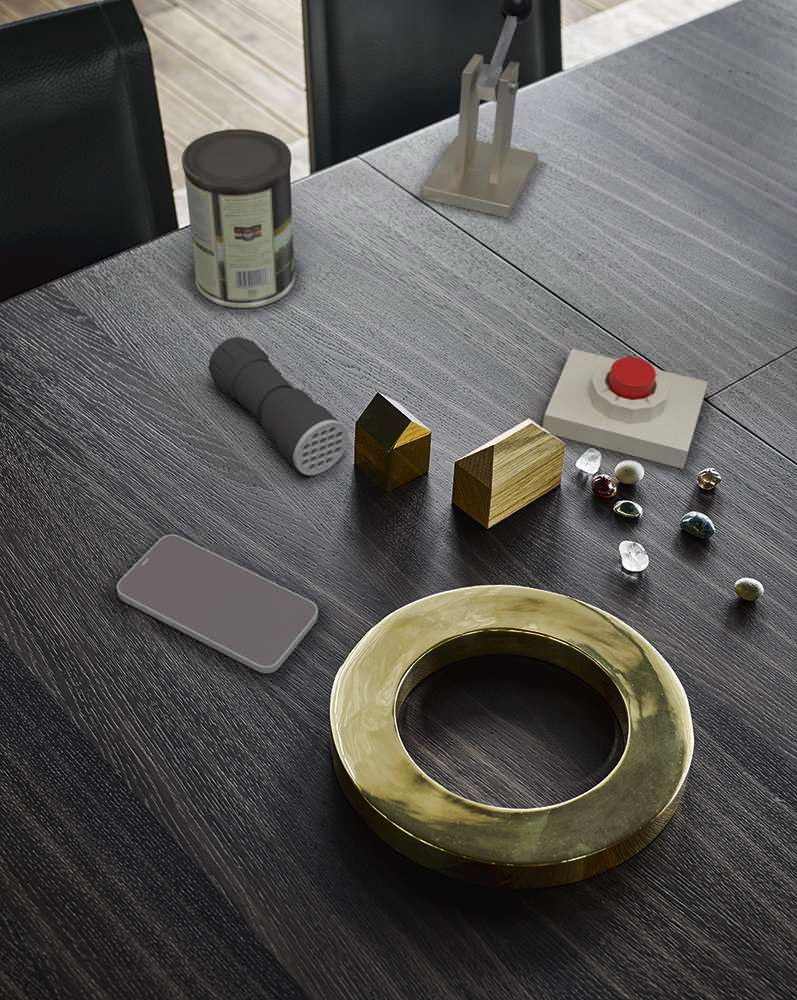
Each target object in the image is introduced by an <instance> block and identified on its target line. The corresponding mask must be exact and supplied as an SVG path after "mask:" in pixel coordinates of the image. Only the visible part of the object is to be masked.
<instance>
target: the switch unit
mask: <svg viewBox="0 0 797 1000" xmlns="http://www.w3.org/2000/svg"><path fill="white" fill-rule="evenodd" d="M484 57H485V56H484V55H481V54H477V53H475V54H474V55H472V57H471V59H470V60H469V62H468V64H467V65H466V67H464V69H463V70H462V72H461V73H462V74H461V78H460V79H461V80H460V81H461V82H460V83H461V89H460V100H459V101H460V103H459V114H458V115H459V116H458V129H457V135H455V137H454V139H452V142H451V143H450V145H449V146H448V148H447V149H446V150H445V152H444V154H443V156H442V157H441V158H440V160H439V162H438V163H437V165H436V167H435V168H434V170H433V171H432V173H431V174H430V176H429V177H428V179H427V180H426V182H425V183H424V185H423V187H422V200H427V201H430V202H434V203H435V202H436V203H440V204H443V205H448V206H453V207H457V208H462V209H466V210H471V211H475V212H479V213H484V214H488V215H493V216H497V217H501V218H506V219H509V217H510V216H511V214H512V212H513V210H514V208H515V206H516V204H517V202H518V201H519V199H520V197H521V195H522V193H523V191H524V190H525V187H526V185H527V184H528V183H529V180H530V178H531V176H532V175H533V172H534V171H535V169H536V167H537V166H538V161H539V160H538V157H539V153H538V152H533V151H529V150H524V149H519V148H515V147H511V146H512V145H511V143H512V137H513V136H512V135H513V126H514V115H515V108H516V97H517V93H518V90H519V81H518V79H519V71H520V70H519V69H520V62H517V61H512V60H510V62H509V63H508V64H507V66H506V67H505V69H504V70H503V74H502V76H501V77H500V79H499V85H498V95H497V102H496V105H495V117H494V127H493V135H492V136H493V137H492V142H487V141H483V140H478V139H477V138H478V137H477V136H478V125H479V115H480V102H481V101H480V100H481V99H477V94H476V82H477V79H478V76H479V74H480V71H481V68H482V65H483V64H484Z"/></svg>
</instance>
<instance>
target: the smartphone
mask: <svg viewBox="0 0 797 1000" xmlns="http://www.w3.org/2000/svg"><path fill="white" fill-rule="evenodd" d="M116 591H117V596H118V598H119V599H120V600H121V601H122V602H124V603H126V604H128V605H130V606H131V607H133V608H135V609H137V610H139V611H140V612H143V613H145V614H146V615H149V616H150V617H153V618H154V619H156V620H158V621H160V622H162V623H164V624H166V625H168V626H170V627H172V628H174V629H176V630H177V631H179V632H181V633H183V634H185V635H187V636H189V637H191V638H193V639H195V640H197V641H199V642H200V643H203V644H204V645H206V646H208V647H210V648H212V649H214V650H216V651H217V652H220V653H222V654H224V655H226V656H228V658H231V659H233V660H235V661H236V662H239V663H241V664H243V665H245V666H247V667H248V668H250V669H252V670H255V671H256V672H258V673H261V674H271V673H275V672H276V671H277V670H279V668H280V667H281V666H282V665H283V664H284V663H285V661H286V660H287V659H288V657H289V656H291V654H292V652H294V650H295V649H296V648H297V647H298V645H299V644H300V642H301V641H302V640H303V639H304V638H305V636H306V635H307V634H308V633H309V631H310V630H311V629H312V628H313V627H314V625H315V624H316V623H317V621H318V617H319V615H318V614H319V610H318V606H317V605H316V604H315V602H313V601H312V600H310V599H308V598H306V597H304V596H302V595H301V594H298V593H296V592H294V591H291V590H290V589H288V588H286V587H284V586H282V585H280V584H278V583H276V582H274V581H272V580H270V579H268V578H265V577H263V576H261V575H259V574H257V573H256V572H253V571H251V570H249V569H247V568H245V567H243V566H241V565H239V564H237V563H235V562H233V561H231V560H230V559H229V560H228V559H227V558H225V557H223V556H220V555H219V554H216V553H214V552H213V551H211V550H208V549H207V548H204V547H202V546H200V545H198V544H196V543H194V542H192V541H190V540H188V539H186V538H184V537H182V536H180V535H177V534H167V535H164V536H162V537H161V538H159V540H157V541H156V542H155V544H153V545H152V546H151V548H149V550H147V552H145V554H143V556H141V558H140V559H139V560H138V561H137V562H135V564H134V565H133V566H132V567H131V568H130V569H128V571H127V572H126V573H125V574H124V575H123V576H122V577H121V578H120V579H119V580H118V582H117V584H116Z"/></svg>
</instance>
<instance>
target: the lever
mask: <svg viewBox="0 0 797 1000" xmlns="http://www.w3.org/2000/svg"><path fill="white" fill-rule="evenodd" d="M534 5H535V4H534V0H501V1H500V6H499V7H500V9H499V10H500V13H501V16H502V17H503V18H504V20H505V21H504V24H503V26H502V29H501V33H500V36H499V38H498V41H497V44H496V47H495V50H494V52H493V54H492V58H491V60H490V63H489V64H487V63H483V65H482V68H481V71H480V74H479V76H478V79H477V82H476V94H477V99H480V100H483V101H487V102H491V103H497V95H498V85H499V79H500V77H501V76H502V74H503V72H504V67H503V64H504V62H505V60H506V56H507V53H508V50H509V47H510V45H511V41H512V39H513V36H514V34H515V31H516V28H517V25H520V24H523V23H525V22H526V21H528V20H529V19H530V17H531V16H532V15H533V11H534Z"/></svg>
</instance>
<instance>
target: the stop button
mask: <svg viewBox="0 0 797 1000" xmlns="http://www.w3.org/2000/svg"><path fill="white" fill-rule="evenodd" d="M617 359H618V360H617V361H615V362H614V363H613V364H612V366H611V371H610V376H609V381H608V385H609V388H610V390H611V391H612V392H613V393H614V394H616V395H617V396H618V397H622V398H626V399H630V400H637V399H644V398H646V397H648V396H649V395H650V394H651V392H652V390H653V385H654V381H655V377H656V372H655V369H654V367H653V366H654V365H653V364H652V365H653V366H652V365H651V363H650V362H648V361H647V360H644V359H642V358H639V357H634V356H625V357H621V358H617Z"/></svg>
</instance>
